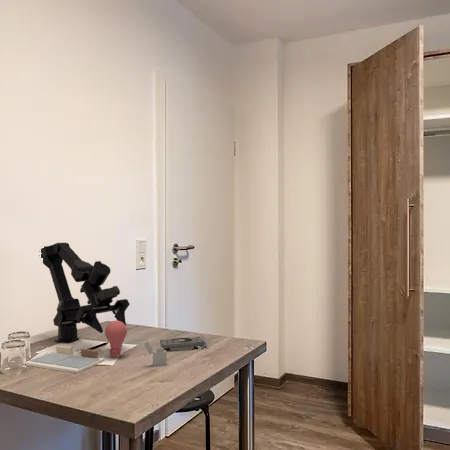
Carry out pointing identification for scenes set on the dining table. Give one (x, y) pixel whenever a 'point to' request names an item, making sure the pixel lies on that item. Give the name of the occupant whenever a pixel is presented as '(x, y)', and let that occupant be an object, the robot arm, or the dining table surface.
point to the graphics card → (185, 343)
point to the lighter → (156, 355)
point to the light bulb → (115, 336)
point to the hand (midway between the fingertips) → (113, 329)
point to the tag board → (67, 360)
